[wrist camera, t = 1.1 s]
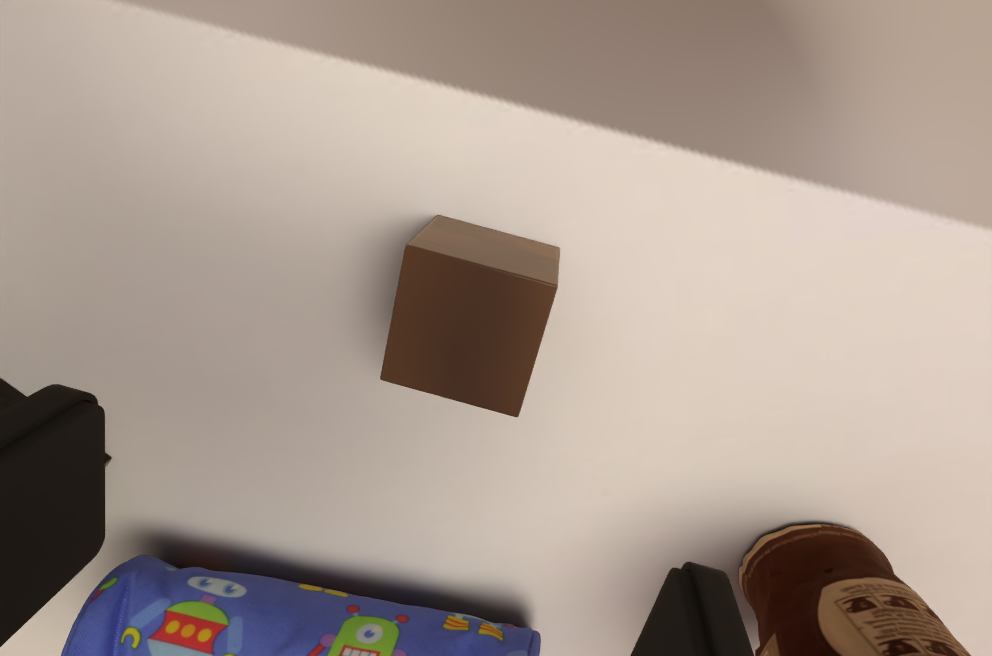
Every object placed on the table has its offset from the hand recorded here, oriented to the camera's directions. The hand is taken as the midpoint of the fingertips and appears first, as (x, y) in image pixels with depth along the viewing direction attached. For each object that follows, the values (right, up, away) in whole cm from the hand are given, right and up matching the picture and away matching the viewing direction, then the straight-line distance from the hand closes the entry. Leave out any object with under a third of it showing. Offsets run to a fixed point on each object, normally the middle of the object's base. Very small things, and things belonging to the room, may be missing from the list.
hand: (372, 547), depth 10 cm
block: (+1, +5, +15) cm, 16 cm away
